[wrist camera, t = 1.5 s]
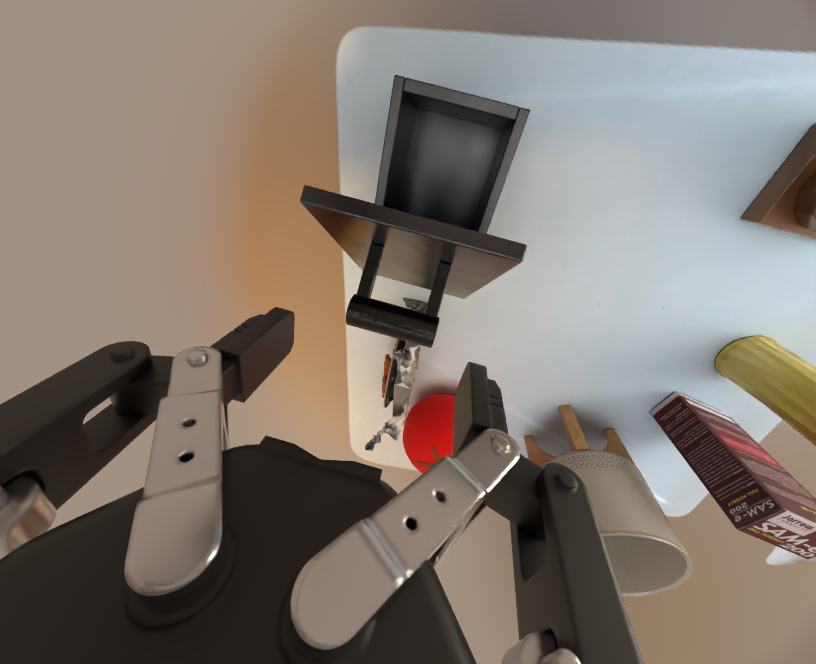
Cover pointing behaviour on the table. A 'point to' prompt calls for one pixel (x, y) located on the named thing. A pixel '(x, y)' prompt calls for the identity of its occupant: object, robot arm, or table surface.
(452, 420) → the tomato
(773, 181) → the control block
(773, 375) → the vase
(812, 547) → the supplement box
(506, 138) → the box
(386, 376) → the meal
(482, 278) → the black box lid
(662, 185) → the table surface
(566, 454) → the planter
